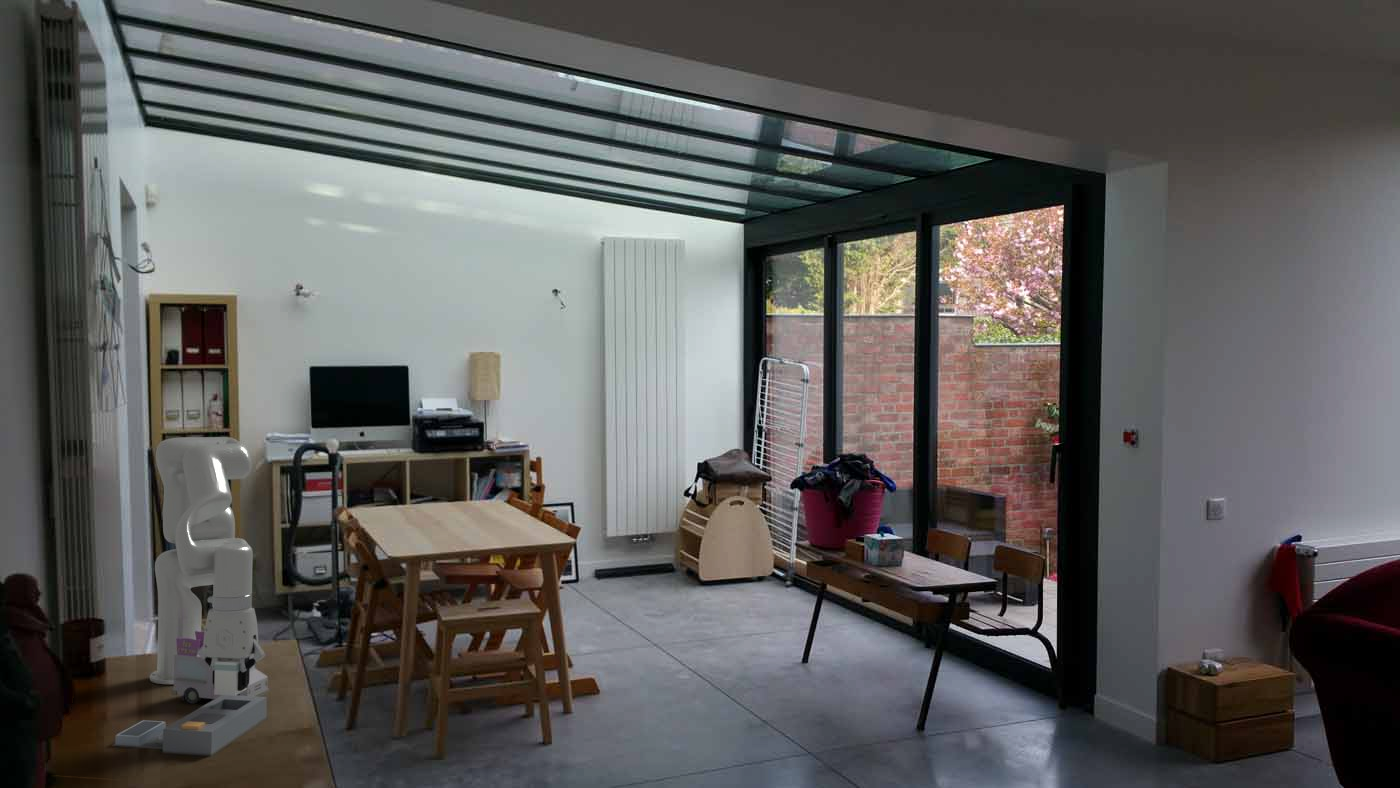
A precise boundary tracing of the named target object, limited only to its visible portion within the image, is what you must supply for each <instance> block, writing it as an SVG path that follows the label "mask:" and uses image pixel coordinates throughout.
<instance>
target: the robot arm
mask: <svg viewBox="0 0 1400 788" xmlns="http://www.w3.org/2000/svg"><path fill="white" fill-rule="evenodd" d="M155 461H156V467H157V469H158V473H159V475H160V479H161V481H162V485H163V508H162V509H163V510H162V512H163V513H162V515H163V516H162V519H163V520H162V528H163V529H162V531H163V536H164V539H165V540H166V541H167V542H168V543H170V544H175V548H174V549H170V550H166V551H163V552H161V553H160V554H159V555H158V556H157V558H156V559H155V562H154V572H155V573H154V575H155V578H156V579H155V580H156V586H157V599H158V602H157V603H158V605H157V608H158V611H157V612H158V613H157V616H158V617H157V620H158V622H157V660H156V661H157V664H156V667H157V670H154V671H153V672H151V673H150V675H149V680H150V682H152V683H155V684H158V685H174V654H177V642H176V638H191V639H195V640H196V635H195V631H199V632H202V617H203V615H202V611H203V610H202V609H203V606H202V603H201V600H200V599H199V597H198V596H197V595H196V594H195V593H193V592H192V590H191V589H192V588H196V587H203V586H211V585H213V586H212V588H213V589H212V590H213V591H212V592H213V593H212V596H208V598H207V603H211V604H212V605H211V606H212V608H210V609H209V610H208V613H207V616H206V621H205V625H204V631H205V632H204V642H203V646H202V647H201V649H200V650H199V651H198V655H199V656H200V657H201V658H203V659H204V660H205V662H206V663H207V664H208V665H209V666H210V669H211V670H212V671H213V684H215V661H217V660H219V659H221V658H224V659H238V661H239V666H240V672H238V691H242V690H243V689H245V688H247V687H248V685H249V674H250V669H251V668H252V666H253V665H254V664H255V665H256V663H257V664H258V662H259V661H260V660H262V659H263V658H265V657H266V653H265V651H264V650H263V649H262V646H261V645H260V644H259V627H258V621H257V615H256V610H255V608H254V607H253V605H252V604H253V603H252V602H253V594H252V593H253V561H254V559H253V558H254V557H253V556H254V555H253V554H254V553H253V548H252V547H251V546H250V544H248V542H247V541H246V540H245V539H243V538H239V537H236V536H235V535H236V521H235V514H234V511H233V508H232V507H231V505H232V502H233V497H232V492H231V488H230V483H229V480H242V479H246V478H247V477H248V476H249V475H250V474H251V470H252V457H251V454H250V452H249V449H248V448H247V446H246V445H245V444H244V443H242V442H240V441H239V440H237V439H235V438H233V437H229V436H214V437H213V436H211V437H210V436H206V437H203V436H202V437H200V436H188V437H187V436H186V437H185V436H183V437H172V438H167V439H164V440H162V441H159V443H158V445H157V446H156V451H155ZM250 654H254V657H253V658H252V659H251V657H250Z"/></svg>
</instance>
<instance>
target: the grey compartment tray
mask: <svg viewBox="0 0 1400 788" xmlns="http://www.w3.org/2000/svg"><path fill="white" fill-rule="evenodd" d="M267 702H268V697H267V696H260V697H257V696H239V695H236V696H231V695H221V696H219V697H218V698H216V699H212V700H211V701H209V702H207V703H206V704H204V705H201V706H200V707H198V708H197V709H196V710H194V711H192V712H190V713H188V714H186V715H185V716H184V717H181V718H180V719H178V720H176V721H174V722H173V723H171V724H169V725H168V726H166V728H164V729H163V749H162V753H163V754H175V755H192V756H207V757H211V756H213V755H215V754H216V753H218V752H219V751H221V750H222V749H224V748H225V747H227V746H228V745H230V744H231V743H232V742H234V741H235V740H237V739H238V738H239V737H241V736H243V735H244V734H246V733H247V732H249V731H251V730H252V729H253V728H255V727H256V726H258V725H259V724H261V723H262V722H264V721H265V720H267V713H268V712H267V711H268V710H267V707H268V706H267V704H268V703H267Z"/></svg>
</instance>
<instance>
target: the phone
mask: <svg viewBox="0 0 1400 788" xmlns="http://www.w3.org/2000/svg"><path fill="white" fill-rule="evenodd" d="M166 727H167V722H166V721H163V720H162V721H161V720H160V721H158V720H145V719H143V720H141V721H139V722H137V723H136V724H133V725H132V726H130V727H129V728H127V729H124V730H123V731H120V732H119V733H117V734H115V742H114V744H115V745H128V746H140V745H142V744H144V743H145V742H147V741H149V740H151V739H152V738H154V737H156V736H157V735H159V734H161V733H163V729H164V728H166Z"/></svg>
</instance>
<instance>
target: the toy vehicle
mask: <svg viewBox="0 0 1400 788" xmlns="http://www.w3.org/2000/svg"><path fill="white" fill-rule="evenodd" d="M204 632H205V630H204V631H202V630H201V632H199V631H195V635H196V640H195V639H191V638H176V642H177V654H174V684H173V689H172V690H171V695H172V696H182V701H184V702H185V701H186V702H187V703H188V704H191V705H193V704H195V705H196V704H197V703H199V702H201V700H202V699H211V700H214V699H216V698H218V697H219V696H221V695H214V684H213V671H212V670H211V669H210V666H209V665H208V664H207V663H206V662H205V660H204V659H203V658H201V657H200V656H199V655H198V651H199V650H200V649H201V647H202V646H203V642H204ZM254 656H255V653H254V654H250V657H251V659H252V658H253V657H254ZM257 667H258V662H257V663H256V664H254V665H253V666H252V668H251V669H250V674H249V685H248V687H247V689H246V690H244V691H243V692H241V693H239V694H237V695H239V696H257V697H263V696H264V695H266V694H269V692H270V687H269V688H268V683H269V682H268V681H269V680H268V678H269V677H268V676H267V675H266V674H265V673H263V672H262V671H260V670H258V669H257Z"/></svg>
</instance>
